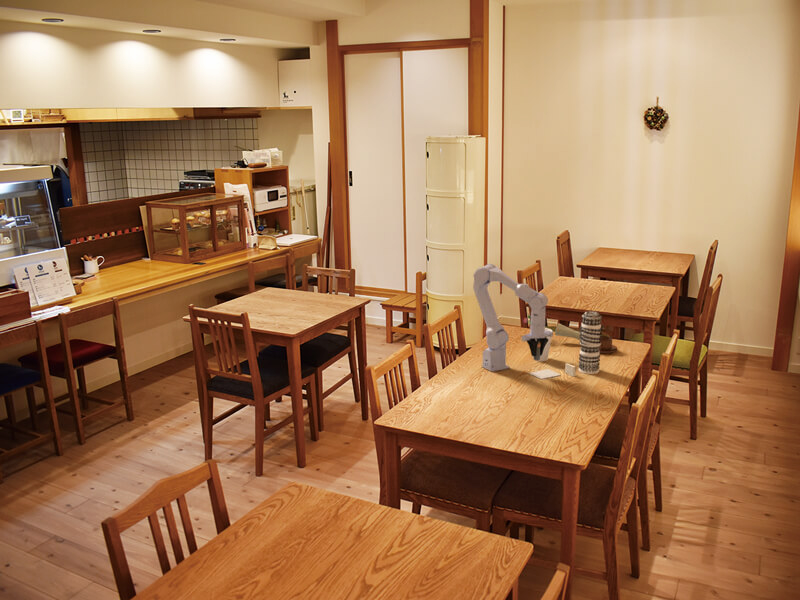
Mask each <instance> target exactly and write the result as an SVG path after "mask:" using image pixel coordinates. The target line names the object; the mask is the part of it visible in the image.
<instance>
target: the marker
mask: <svg viewBox="0 0 800 600" xmlns="http://www.w3.org/2000/svg"><path fill="white" fill-rule="evenodd" d="M540 346H541V343H540V342H539V343H538V345H537V351H536V357H534V358H533V357H532V359H533V360H534V361H536V360H540Z"/></svg>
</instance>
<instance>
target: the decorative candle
mask: <svg viewBox="0 0 800 600" xmlns="http://www.w3.org/2000/svg"><path fill="white" fill-rule="evenodd" d="M581 317H582V319H581V325H580V326H579V330H580V331H579V332H580V338H581V339H580V340H579V344H580V348H579V353H578V356H579V357H578V360H579V361H578V371H579V372H580V373H582V374H585V375H588V374H589V375H595V374H598V373H599V372H600V365H601V363H600V361H601V359H600V358H601V355H600V353H599V346H600V345H601V341H600V339H602V338H601V337H600V336H603V333H602V331H603V329H602V318H603V316H602V315H601V314H600V313H599V312H598V311H591V310H589V311H585V312H584V314H582V315H581ZM581 336H582V337H581Z"/></svg>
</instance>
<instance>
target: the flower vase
mask: <svg viewBox="0 0 800 600" xmlns="http://www.w3.org/2000/svg"><path fill="white" fill-rule="evenodd" d="M529 319H530V320H529ZM523 323H524V324H526V323H529V331H530V330H531V315H529V313H527V317H525V318H523ZM545 328H548V329H549V327H548V326H545ZM551 330H552V332H554V336H556V337H557V336H559V337H566V338H567V337H568V338H573V339H576V340H579V341H580V339H581V338H580V331H578V330H575V329H572V328H570V327H567V326H566V325H563V324H562V323H560V322H558V323H557V325H556V328H555V329H551ZM581 337H582V336H581Z"/></svg>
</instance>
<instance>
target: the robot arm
mask: <svg viewBox="0 0 800 600" xmlns="http://www.w3.org/2000/svg"><path fill="white" fill-rule="evenodd" d="M472 275H473V285H472V286H473V287H472V288H473V291H474V294H475V298H476V300H477V303H478V306H479V309H480V311H481V314H482V318H483V320H484V322H485V324H486V331H485V335H486V344H487V346H488V347H487V348H485V349H484V350H483V352H482V365H481V368H482V367H483V368H484V369H486V370H488V371H490V372H497V371H502V370H507V369H510V368H511V367H510V366H509V365H507V364H506V362H507V361H506V360H507V343H508V342H509V334H508V332H507V331H506V329H505V328H504V325H502V324H501V323H500V321H499V319H498V316H497V313H496V310H495V307H494V305H493V304H494V303H493V302H492V299H491V296H490V294H489V290H488V287H489V286H490V283H491V282H499V283H501V284H503V285H504V286H506V288H507V287H508V288H509V289H510V290H512V291H514V295H515V296H517V297H518V298H519V299H520V300H522V301H524V302H525V303H526V304H528V306H529V307H530V309H531V311H530V316H531V318H530V321H531V323H530V324H531V330H530V329H529V333H527V334H524V335H521V341H523V342H526V343H527V344H528V347H529V350H530V351H529V352H530V355H531V357H533V356H534V357H536V351H537V345H538V343H539V342H540V343H541V346H540V355H542V353H543V350H544V347H545V345H546V344H547V342H548V339H547V338H546V337H549V336H550V337H552V338H553V336H554V331H552V332H551V331H545V327H546V306H547V305H548V302H549V299H548V296H547V295H546V294H544V293H543V292H539V291H538V290H535V289H533V288H531V287H530V286H529V284H527V283H518V281H516V279H513V278H512V277H511V276H509V275H508V274H507V273H506V272H504V271H503V270H501V268H500V267H498V266H496V265H495V264H492V263H487V264H485V265H484V266H481V267H478V268H476V270H475V271H474V273H473V274H472ZM535 339H536V340H537V341H536V340H535Z"/></svg>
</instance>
